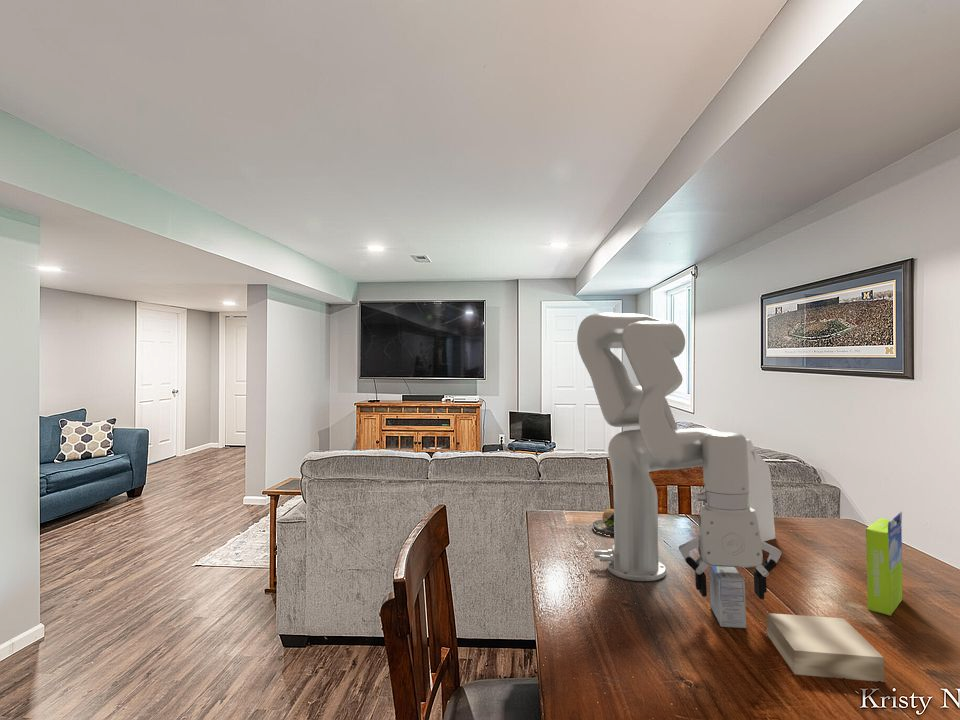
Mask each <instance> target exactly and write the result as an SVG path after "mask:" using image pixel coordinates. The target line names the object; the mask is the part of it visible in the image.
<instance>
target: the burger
mask: <svg viewBox="0 0 960 720" xmlns="http://www.w3.org/2000/svg"><path fill="white" fill-rule="evenodd" d="M604 504H605V508H606V509H605V511H604V512H603V514H602V519H599V520H598V519H597V520H595V521H593V523H592V526H593V527H594V529H595V530H596V531H597V532H600V533H602V534H606V535H610V536H612V537H613V536H614V508H608V507H607V505H606V503H604ZM602 534H601V535H602Z"/></svg>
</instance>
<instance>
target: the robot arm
mask: <svg viewBox="0 0 960 720" xmlns="http://www.w3.org/2000/svg"><path fill="white" fill-rule="evenodd" d="M576 341H577V342H576V343H577V344H576V345H577V349H578V353H579V356H580V358H581V360H582V363H583V365H584V367H585V368H586V370H587V373H588V375H589V376H590V379H591V382H592V387H593V389H594V392H595V395H596V398H597V400H598V404H599V407H600V410H601V413H602V416H603V419H604V420H605V422H606V424H607V425H609V426H611V427H614V428H627V427H628V428H629V427H639V429H628V430H624V431H620V432H618V433H617V434H615V435H614V436H613V437H612V438H611V439H610V442H608V448H607V449H608V450H607V451H608V459H609V463H610V469H611V474H612V475H611V476H612V487H613V509H614V534H613V536H614V538H613V539H614V540H613V541H614V543H613V545H612V548H608V549H607V550H605V549H603V550H602V549H593V559H599V561H600V562H603V563H604V562H607V570H608V571H609V573H611V574H612V575H614V576H616V577H618V578H621V579H624V580H627V581H635V582H654V581H657V580H661V579H662V578H664V577H665V576H666V574H667V568H666V566H665V565H664V564H663V563H662V562H661V561H660V560H659V524H658V523H659V516H658V515H659V507H658V505H659V504H658V503H659V502H658V500H659V499H658V492H657V488H656V485H655V483H654V481H653V480H652V478H651V475H650V472H654V471H656V472H657V471H662V470H663V471H664V470H682V469H690V468H699V467H702V469H703V470H702V472H703V489H702V492H700V493H696V494H695V499H696V501H697V502H702V503H703V504H702V505H701V507H700V512H699V519H698V520H699V521H698V532H697V533H698V534H697V537H696V538H693V539H691V540H689V541H687V542H685V543H682V544H681V545H679V546H678V550H679V552H680V554H681V555H682V557H683V559H684V561H685V563H686V564H687V565H688V566H690V568H691V569H692V570H693V571H694V575H695V576H694V578H695V588H696V590H697V591H699V593H700V594H701V596H702V597H703V598H705V597H707V596H708V592H707V591H708V590H707V575H706V573H705V571H706V569H707V568H709V567H710V565H711V566H721V567H735V568H755V570H754V571H753V588H754V589H753V591H754V594H755V595H756V596H757V598H758V599H760V600H765V594H766V593H767V591H768V585H767V577H768V576H769V575H770V572H771V571H772V570H774V569H775V568H776V566H777V563H778V562H779V559H780V558H781V555H782V551H781V550H780V549H778V548H777V547H776V546H773V545H771V544H769V543H767V542H766V541H764V542H763V541H761V537H760V530H759V524H758V519H757V515H756V512H755V509H753V508H751V507H750V498H749V476H748V454H747V441H746V439H747V438H746V437H745V435H743V434H741V433H739V432H734V431H719V430H714V429H711V428H707V427H706V428H705V427H693V428H692V427H691V428H679V427H678V425H677V423H676V421H675V418H674V414H673V412H672V410H671V407H670V404H669V402H668V400H667V398H666V397H668V396H669V395H670V394H673V393H674V392H675V391H677V390H678V389H679V387H680V386H681V385H682V383H683V380H684V379H683V375H682V373H681V372H680V369H679V367H678V366H677V364H676V361H675V358H677V357H680V355H681V354H683V352H684V349H685V348H686V336H685V333H684V332H683V330H682V329H681V328H680V326H679V325H677V324H676V323H675V322H673V321H669V320H665V319H660V318H656V317H652V316H651V315H650V316H649V315H646V314H640V313H619V312H598V313H593V314H589V315H588V316H586V317H584V318H583V319H582V321H581V322H580V324H579V326H578V329H577V337H576ZM611 349H623V350H624V352H625V355H626V358H627V359H628V361H629V364H630V366H631V368H632V370H633V373H634V374H635V377H636V379H637V382H638V383H639V385H634V384H633V382H632V381H631V380H630V377H629V374H628V370H627V369H626V367H625V365H624V363H623V362H622V361H621V360H620V358H619V357H618V356H617V355H616V354H615V353H613V352H612V350H611ZM695 549H697V550H698V555H699V557H698V558H697V559H696V560H695V559H693V557H692V556H691V555H690V552H691V551H693V550H695ZM763 551H765V552H767V553H769V554H768V557H767V558H766V559H765V560H764V559H763V556H764V555H763Z"/></svg>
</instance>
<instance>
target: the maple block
mask: <svg viewBox="0 0 960 720" xmlns="http://www.w3.org/2000/svg"><path fill="white" fill-rule="evenodd" d="M766 635H767V637H768V638H769V639H770V641H771V642H772V644H773V645H774V646H775V648H776V649H777V651H778V652H779V654H780V655H781V657H782V659H783V660H784V661H785V663H786V664H787V665H788V667H789V668H790V670H791V671H792V673H793V674H794V675H796V676H797V675H799V676H809V677H811V676H812V677H820V678H833V677H836V679H843V678H845V679H846V680H855V681H870V682H878V681H881V683H884V682H885V657H884V656H883V655H882V654H881V653H880V652H879V651H878V649H876V648H875V647H874V646H873V645H872V644H871V643H870V642H869V641H868V640H866V638H865V637H864V636H862V635H861V633H859V632H858V631H857V629H856V628H854V627H853V626H852V625H851V624H850V623H849V622H848V621H847V620H846V619H845V618H844V617H843V618H842V617H829V616H814V615H803V614H802V615H799V614H785V613H784V614H783V613H773V612H772V613H771V612H766ZM845 679H844V680H845Z"/></svg>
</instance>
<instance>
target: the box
mask: <svg viewBox="0 0 960 720" xmlns="http://www.w3.org/2000/svg"><path fill="white" fill-rule="evenodd" d="M902 520H903V512H902V511H900V512H899V513H898V514H897V515H895V516H894V517H893V518H892V519H888V518H887V519H886V518H878V519H877V520H875V521H874V522H872V524H870V525H869V526H868V527H867V528H865V543H866V544H865V545H866V575H867V576H866V578H867V579H866V581H867V587H866V588H867V610H868V611H871V612H874V613H878V614H882V615H885V616H890V617H891V616H892V615H893V613H894V612H895V610H896V609H897V608H898V607H899V605H900V603H901V602H902V600H903V539H902V538H903V535H902V527H903V526H902V522H903V521H902Z"/></svg>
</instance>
